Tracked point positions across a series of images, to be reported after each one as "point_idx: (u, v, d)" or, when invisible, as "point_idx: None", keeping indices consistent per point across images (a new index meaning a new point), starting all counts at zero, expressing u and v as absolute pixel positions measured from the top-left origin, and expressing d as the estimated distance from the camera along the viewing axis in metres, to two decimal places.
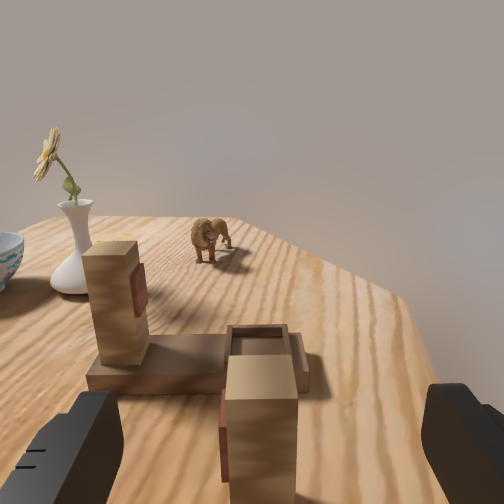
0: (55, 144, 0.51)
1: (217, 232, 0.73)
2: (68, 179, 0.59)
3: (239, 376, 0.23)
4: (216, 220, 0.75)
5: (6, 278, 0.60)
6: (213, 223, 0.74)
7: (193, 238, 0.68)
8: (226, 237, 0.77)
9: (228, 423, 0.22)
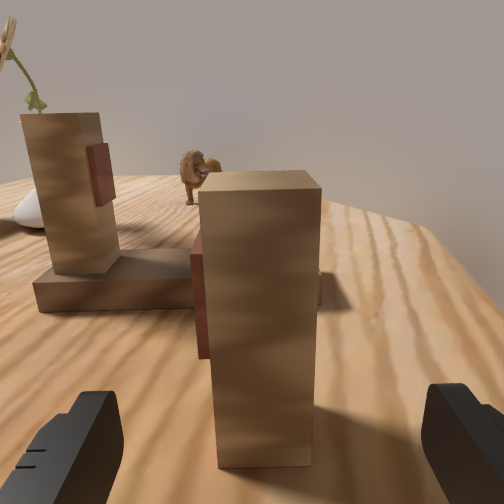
0: (9, 34, 0.42)
1: (210, 171, 0.65)
2: (32, 94, 0.51)
3: (224, 180, 0.14)
4: (209, 159, 0.67)
5: None
6: (205, 161, 0.66)
7: (182, 172, 0.59)
8: None
9: (205, 240, 0.13)
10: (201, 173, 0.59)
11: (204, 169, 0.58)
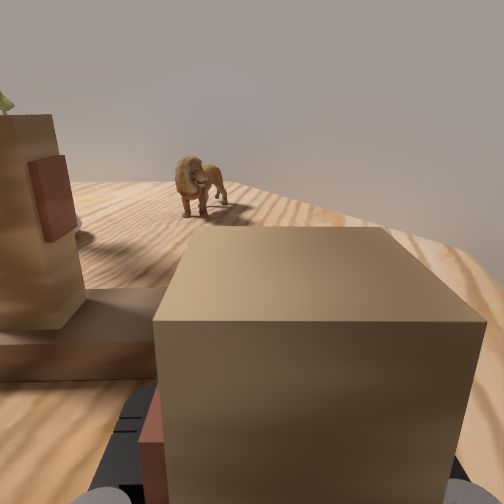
0: None
1: (209, 179, 0.58)
2: None
3: (226, 260, 0.06)
4: (208, 166, 0.59)
5: None
6: (204, 169, 0.58)
7: (178, 181, 0.52)
8: (221, 189, 0.61)
9: (172, 429, 0.05)
10: (199, 183, 0.52)
11: (202, 178, 0.51)
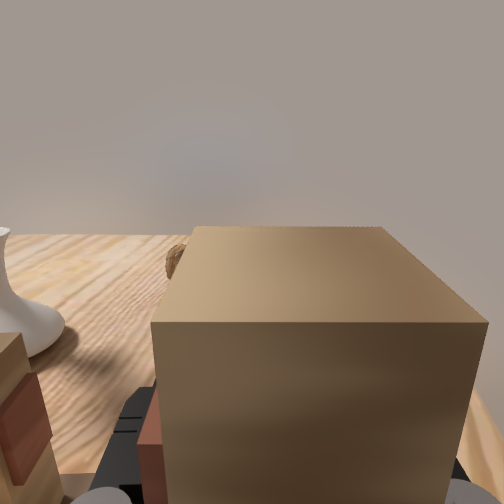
0: None
1: None
2: None
3: (225, 261, 0.06)
4: None
5: None
6: None
7: (168, 271, 0.51)
8: None
9: (170, 431, 0.05)
10: None
11: None
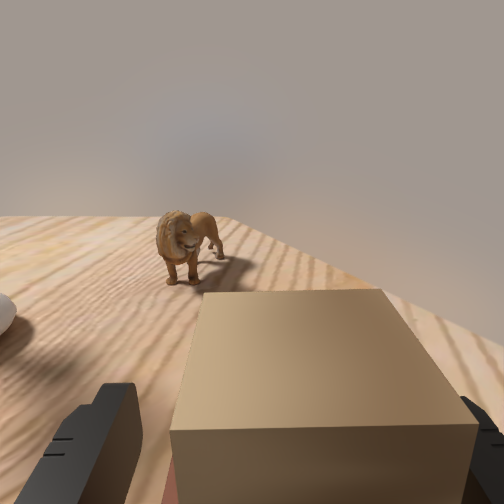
0: None
1: (201, 234, 0.45)
2: None
3: (234, 342, 0.07)
4: (199, 215, 0.47)
5: None
6: (194, 219, 0.46)
7: (159, 244, 0.40)
8: (215, 241, 0.49)
9: None
10: (187, 247, 0.39)
11: (192, 242, 0.39)
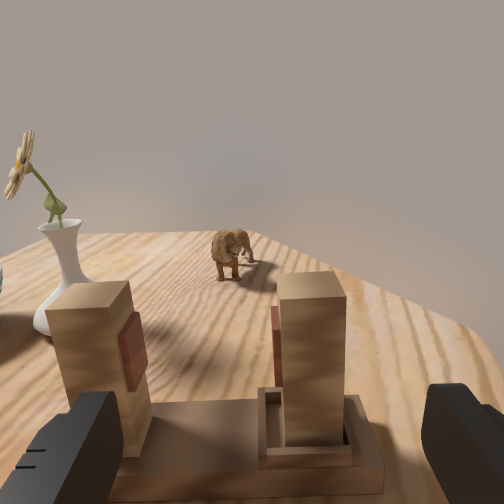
0: (27, 152, 0.40)
1: (239, 244, 0.64)
2: (51, 195, 0.48)
3: (289, 285, 0.25)
4: (237, 231, 0.66)
5: None
6: (234, 234, 0.65)
7: (215, 253, 0.59)
8: (248, 249, 0.68)
9: (282, 323, 0.24)
10: (234, 254, 0.58)
11: (237, 250, 0.58)
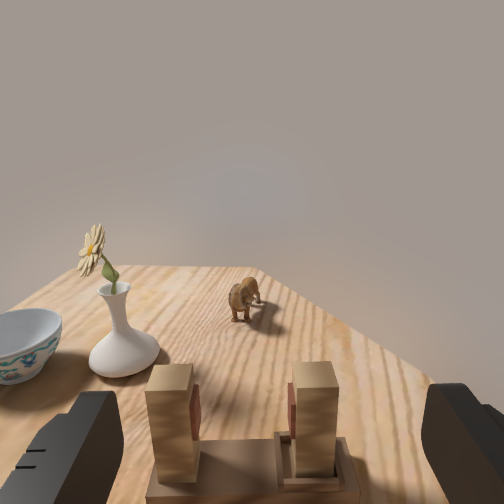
0: (100, 244, 0.52)
1: (250, 292, 0.78)
2: (106, 264, 0.61)
3: (302, 374, 0.38)
4: (248, 279, 0.80)
5: (46, 360, 0.61)
6: (246, 283, 0.79)
7: (232, 302, 0.72)
8: (257, 293, 0.82)
9: (297, 402, 0.37)
10: (248, 303, 0.72)
11: (251, 301, 0.71)
